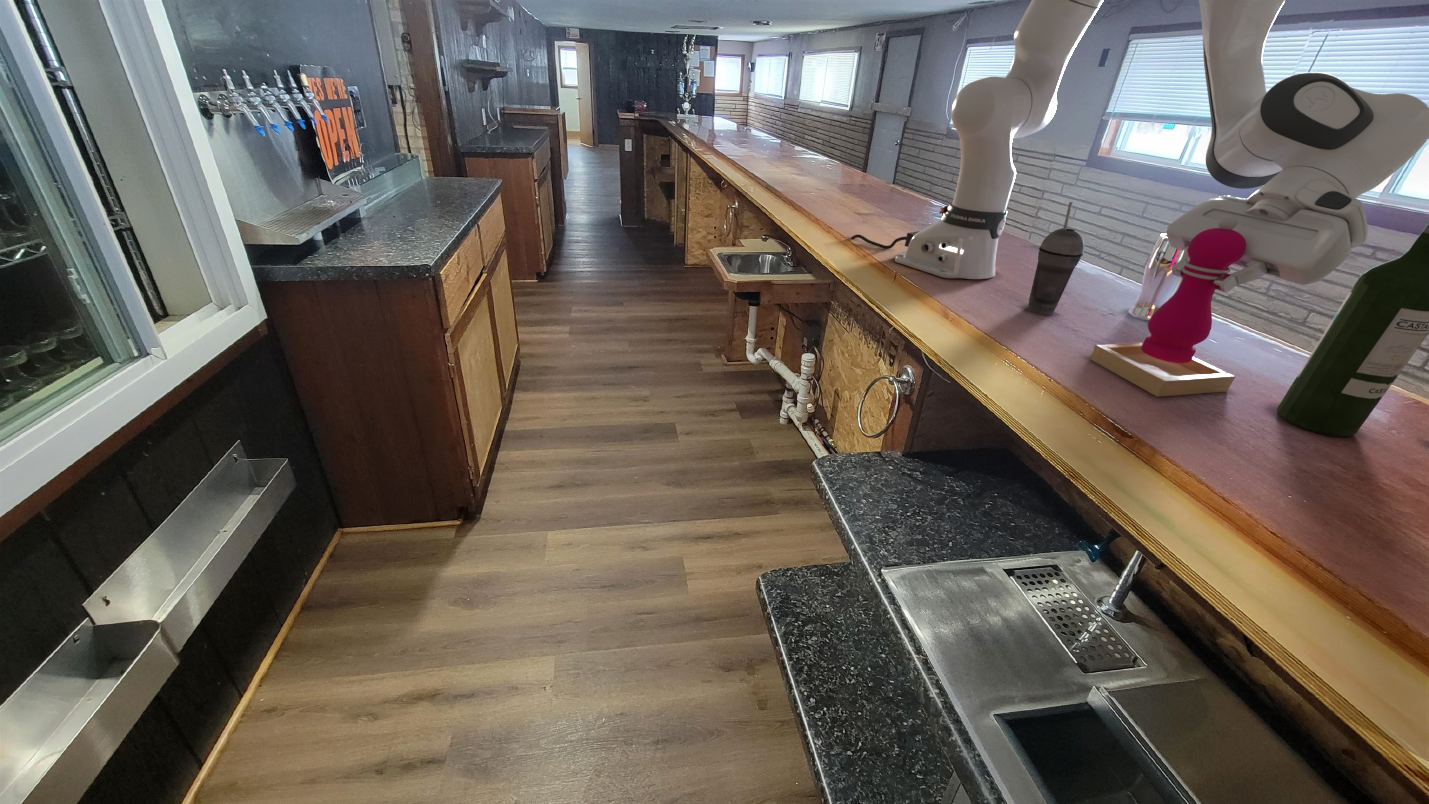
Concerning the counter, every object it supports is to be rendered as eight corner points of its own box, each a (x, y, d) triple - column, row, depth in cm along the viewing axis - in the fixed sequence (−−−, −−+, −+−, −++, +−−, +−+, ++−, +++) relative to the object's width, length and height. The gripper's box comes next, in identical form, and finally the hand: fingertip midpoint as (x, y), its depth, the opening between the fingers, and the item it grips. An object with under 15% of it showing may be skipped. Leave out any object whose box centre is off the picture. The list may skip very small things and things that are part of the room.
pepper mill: (1198, 355, 84) (1268, 218, 74) (1191, 369, 80) (1265, 225, 70) (1141, 340, 89) (1200, 209, 79) (1132, 353, 84) (1194, 215, 74)
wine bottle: (1344, 444, 70) (1527, 191, 55) (1266, 415, 76) (1412, 179, 61) (1363, 428, 74) (1539, 187, 59) (1287, 401, 80) (1430, 176, 65)
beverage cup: (1045, 319, 105) (1084, 208, 95) (1011, 307, 110) (1045, 200, 100) (1069, 314, 108) (1110, 206, 98) (1035, 302, 113) (1070, 198, 103)
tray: (1089, 359, 90) (1095, 344, 89) (1153, 355, 92) (1160, 341, 91) (1157, 397, 79) (1165, 381, 78) (1227, 391, 82) (1235, 376, 81)
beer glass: (1155, 311, 112) (1190, 234, 104) (1176, 324, 106) (1215, 244, 98) (1118, 308, 112) (1150, 232, 105) (1137, 321, 106) (1173, 241, 99)
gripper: (1211, 178, 83) (1128, 245, 86) (1378, 205, 65) (1268, 289, 68) (1220, 209, 86) (1140, 273, 89) (1382, 243, 68) (1277, 322, 71)
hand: (1197, 280), depth 78 cm, fingers closed on pepper mill, 5 cm apart
